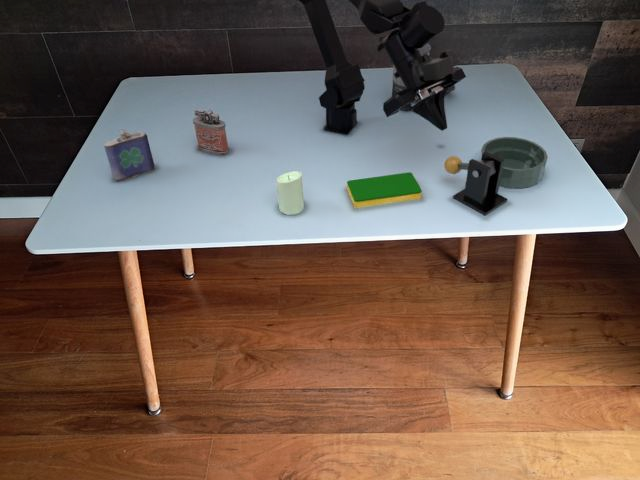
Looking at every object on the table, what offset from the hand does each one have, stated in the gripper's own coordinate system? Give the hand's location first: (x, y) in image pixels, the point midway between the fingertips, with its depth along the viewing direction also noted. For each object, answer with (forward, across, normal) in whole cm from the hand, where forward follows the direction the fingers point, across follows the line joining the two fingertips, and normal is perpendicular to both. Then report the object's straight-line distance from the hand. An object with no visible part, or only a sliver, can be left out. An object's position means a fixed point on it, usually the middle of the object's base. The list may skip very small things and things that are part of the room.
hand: (444, 129), depth 116 cm
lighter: (-22, -29, +39) cm, 53 cm away
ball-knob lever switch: (+16, 0, +1) cm, 16 cm away
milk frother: (-11, +25, +28) cm, 39 cm away
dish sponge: (+6, -12, +11) cm, 18 cm away
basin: (+14, +13, +2) cm, 20 cm away
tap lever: (+10, 0, 0) cm, 10 cm away
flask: (-24, -47, +42) cm, 68 cm away
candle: (-1, -29, +18) cm, 34 cm away
